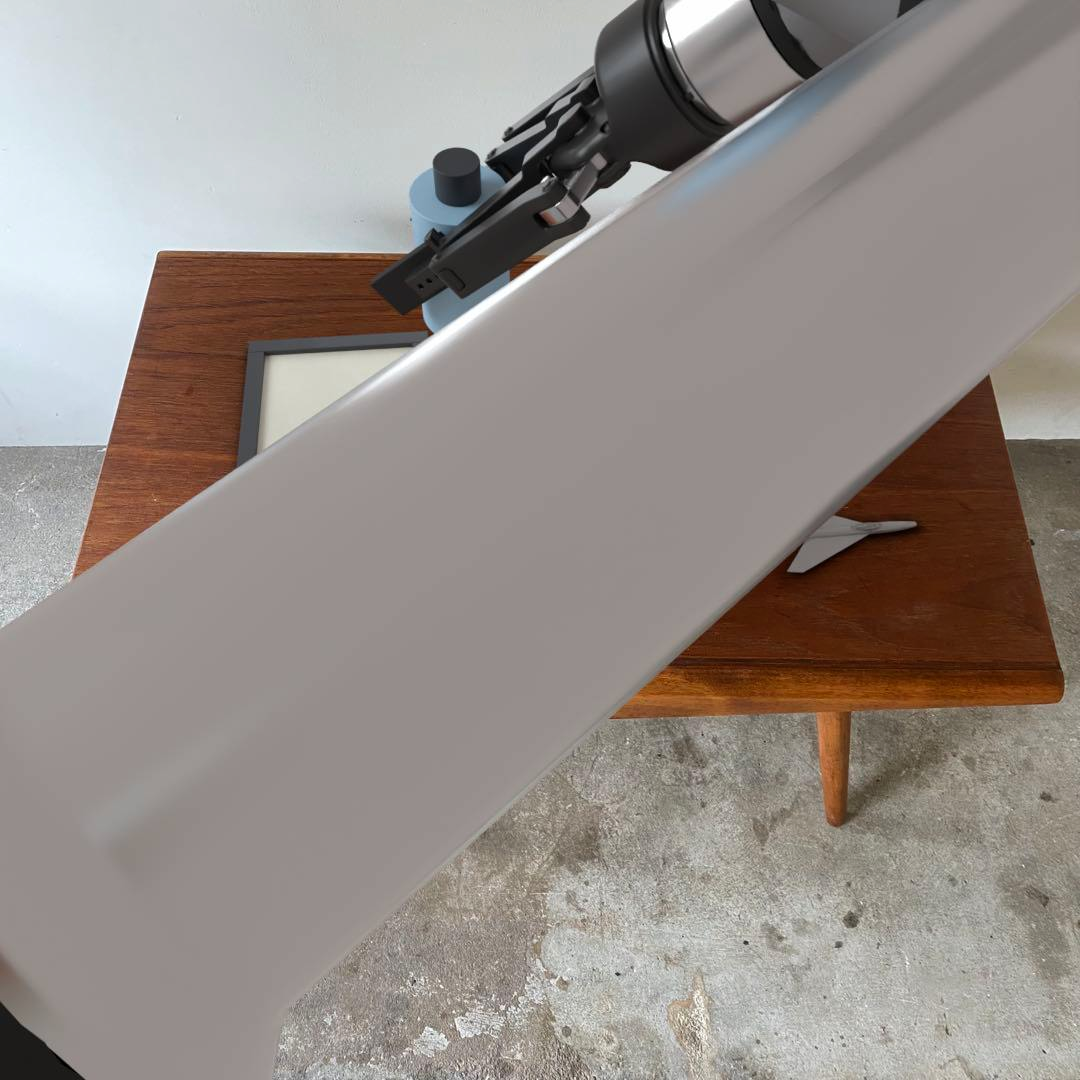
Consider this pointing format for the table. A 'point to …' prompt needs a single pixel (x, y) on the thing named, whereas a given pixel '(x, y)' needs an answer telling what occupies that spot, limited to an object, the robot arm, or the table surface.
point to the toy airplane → (839, 539)
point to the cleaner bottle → (452, 220)
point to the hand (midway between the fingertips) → (409, 263)
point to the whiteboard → (307, 380)
